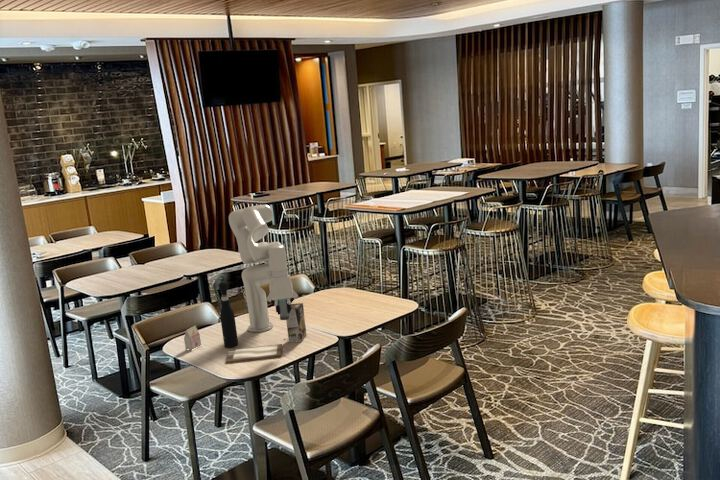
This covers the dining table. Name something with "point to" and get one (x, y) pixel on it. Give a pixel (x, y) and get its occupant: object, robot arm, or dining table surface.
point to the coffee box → (296, 323)
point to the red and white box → (192, 338)
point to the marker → (283, 309)
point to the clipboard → (254, 353)
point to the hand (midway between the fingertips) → (284, 312)
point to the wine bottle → (227, 319)
